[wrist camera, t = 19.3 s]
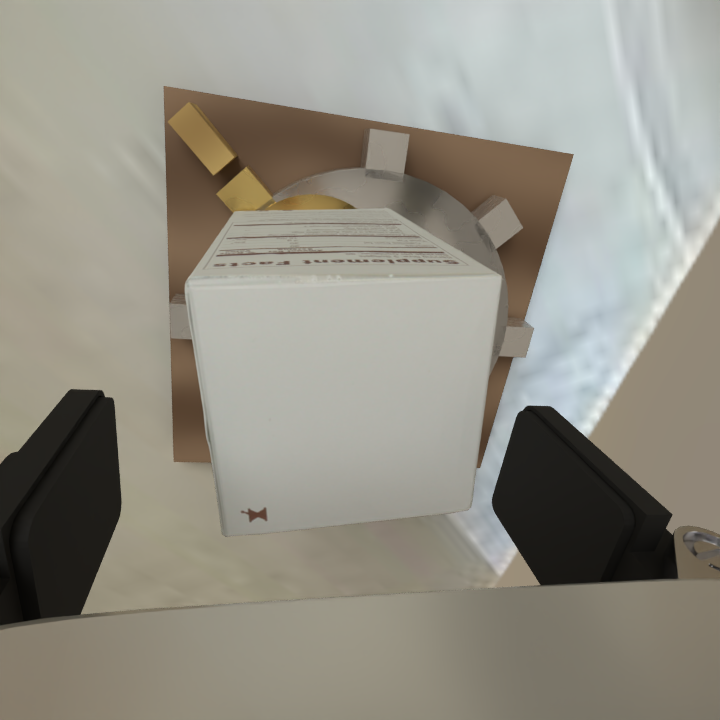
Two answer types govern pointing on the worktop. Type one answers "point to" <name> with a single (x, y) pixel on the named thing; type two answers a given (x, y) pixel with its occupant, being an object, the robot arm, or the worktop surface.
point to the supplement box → (339, 368)
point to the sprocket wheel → (404, 196)
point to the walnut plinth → (323, 153)
